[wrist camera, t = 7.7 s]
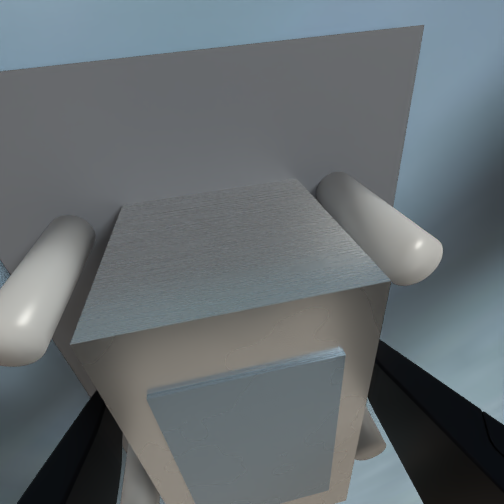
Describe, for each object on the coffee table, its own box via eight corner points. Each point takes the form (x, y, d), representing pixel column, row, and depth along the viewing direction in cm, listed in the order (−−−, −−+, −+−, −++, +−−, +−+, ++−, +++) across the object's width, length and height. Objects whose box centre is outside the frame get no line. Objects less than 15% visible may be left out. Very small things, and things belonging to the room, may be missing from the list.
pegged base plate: (400, 27, 9) (607, 4, 4) (351, 381, 17) (405, 484, 13) (-81, 80, 7) (-429, 118, 3) (130, 434, 16) (113, 566, 12)
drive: (296, 178, 9) (394, 284, 5) (297, 369, 14) (347, 504, 10) (122, 205, 9) (67, 349, 4) (186, 394, 14) (189, 548, 9)
